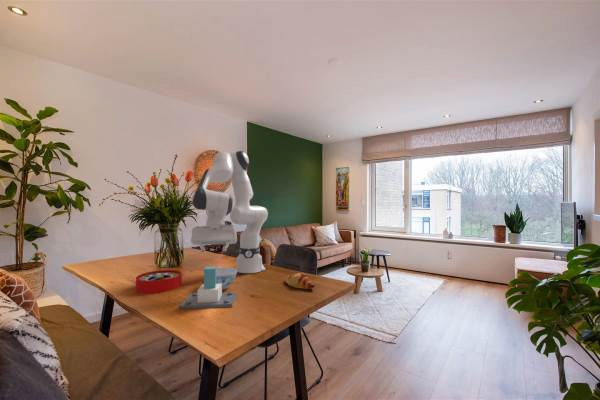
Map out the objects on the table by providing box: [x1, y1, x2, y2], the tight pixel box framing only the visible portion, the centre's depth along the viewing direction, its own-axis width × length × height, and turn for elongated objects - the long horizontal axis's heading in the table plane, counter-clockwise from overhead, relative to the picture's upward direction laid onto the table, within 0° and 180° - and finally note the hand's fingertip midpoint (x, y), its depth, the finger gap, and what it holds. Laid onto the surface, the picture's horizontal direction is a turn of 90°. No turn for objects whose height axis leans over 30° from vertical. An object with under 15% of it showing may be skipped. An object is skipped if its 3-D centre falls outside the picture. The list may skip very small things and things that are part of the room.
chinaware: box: [216, 267, 238, 290], centre depth 131 cm, size 15×15×8 cm
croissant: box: [284, 272, 316, 290], centre depth 134 cm, size 21×10×8 cm, turn 43°
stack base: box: [179, 283, 238, 310], centre depth 112 cm, size 13×20×6 cm, turn 96°
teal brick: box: [203, 265, 217, 289], centre depth 112 cm, size 4×4×8 cm
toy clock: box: [135, 269, 183, 295], centre depth 132 cm, size 20×6×20 cm
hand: (213, 250), depth 120 cm, fingers open, 8 cm apart
